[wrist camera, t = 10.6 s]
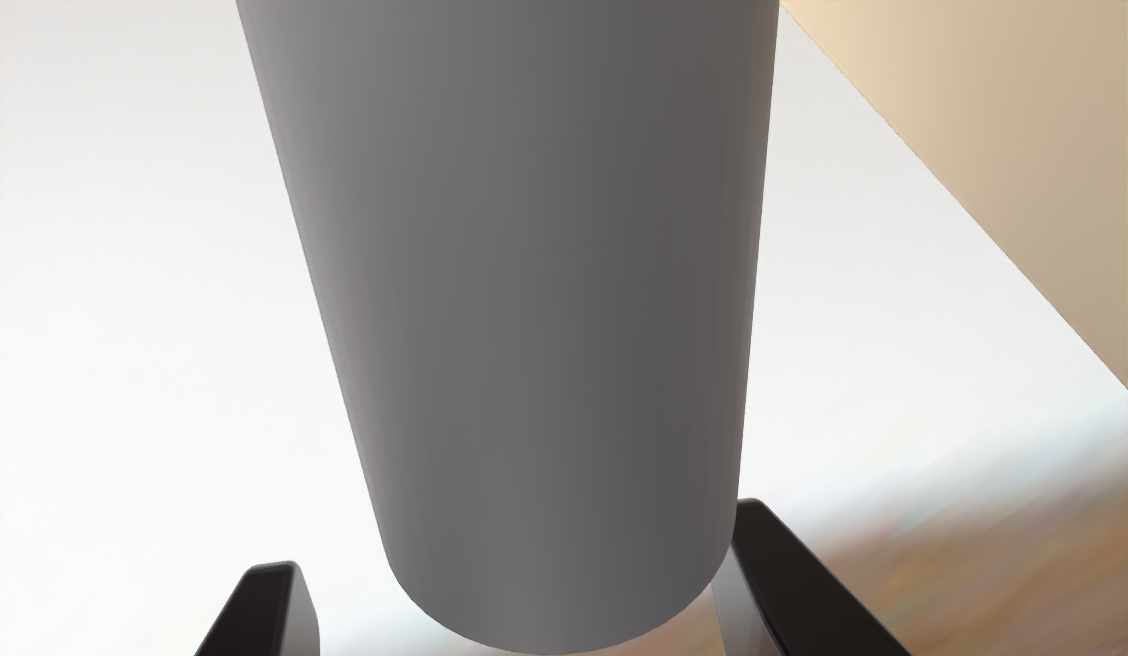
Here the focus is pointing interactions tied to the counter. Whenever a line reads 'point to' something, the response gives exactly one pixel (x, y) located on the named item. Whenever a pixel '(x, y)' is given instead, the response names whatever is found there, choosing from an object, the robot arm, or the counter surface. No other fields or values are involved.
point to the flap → (629, 256)
